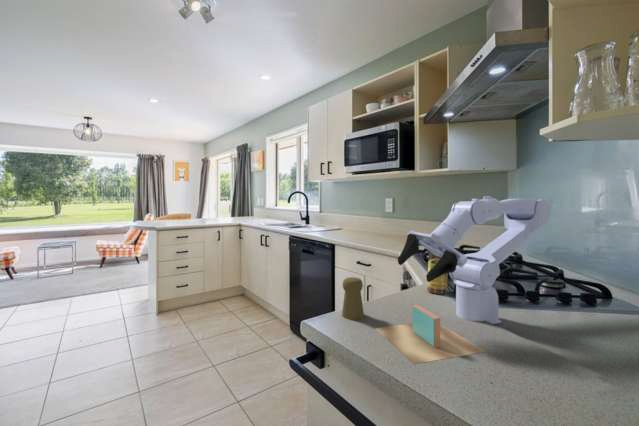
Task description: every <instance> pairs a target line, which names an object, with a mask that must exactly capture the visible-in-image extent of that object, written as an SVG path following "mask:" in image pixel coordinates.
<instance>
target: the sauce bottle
mask: <svg viewBox="0 0 639 426" xmlns="http://www.w3.org/2000/svg"><path fill="white" fill-rule="evenodd" d="M428 251H429V250H428ZM440 258H441V257H438V256H436V255H434V254H433V253H431V252H430V251H429V252H428V261H427V273H428V272H429V271H430V270H431V269H432V268H433V267H434V266H435V265H436V264H437V262H438V261H439V260H440ZM448 274H449V273H447V274H444V275H441V276H439V277H437V278H435V279H434V280H432V281H430V282H428V281H427V280H426V281H427V282H426V284H427V285H426V286H427V291H428V292H429V293H431V294H436V295H442V294H443V295H444V293H445V294H446V293H447V289H448V276H449V275H448Z"/></svg>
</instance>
